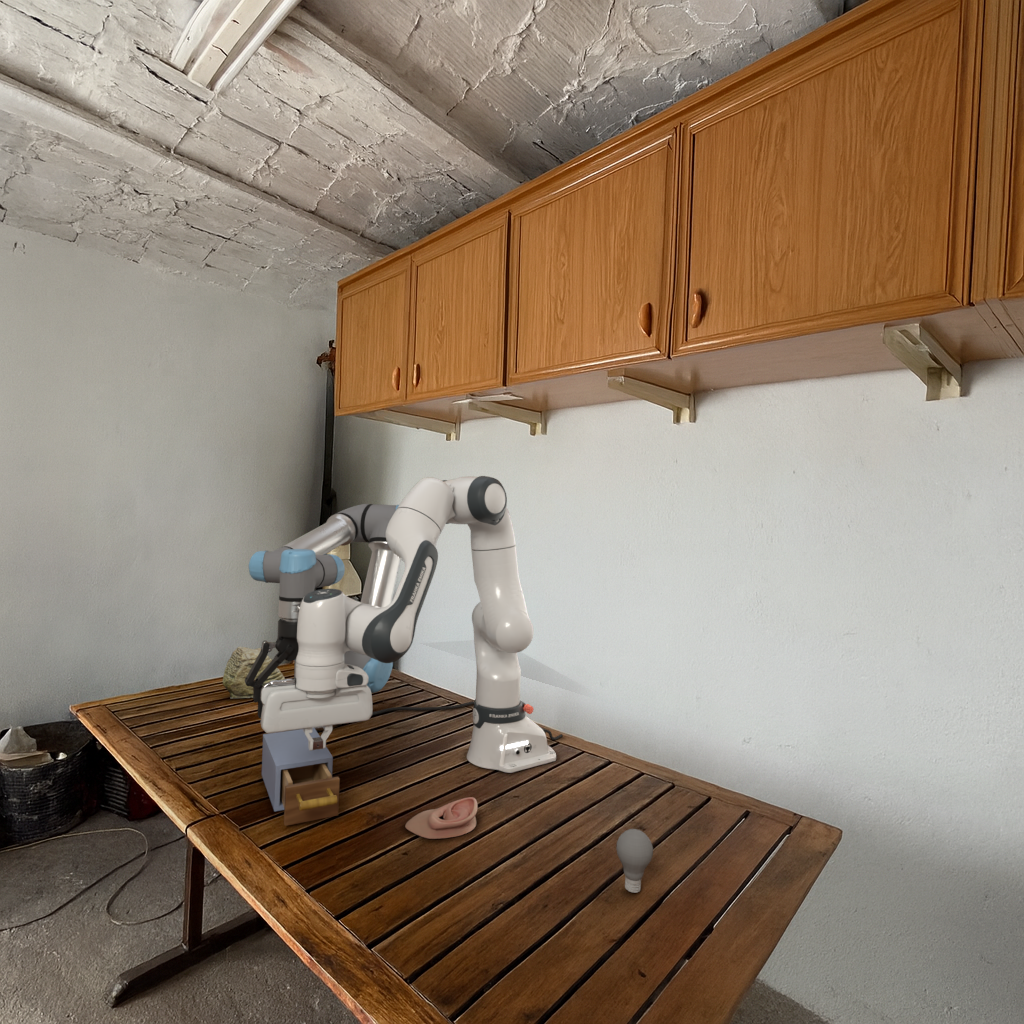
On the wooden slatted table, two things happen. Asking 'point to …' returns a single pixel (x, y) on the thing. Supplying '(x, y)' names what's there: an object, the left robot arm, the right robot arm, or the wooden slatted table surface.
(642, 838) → the light bulb
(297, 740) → the cabinet
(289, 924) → the wooden slatted table surface
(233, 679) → the fossil
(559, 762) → the wooden slatted table surface
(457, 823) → the anatomical model
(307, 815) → the drawer
